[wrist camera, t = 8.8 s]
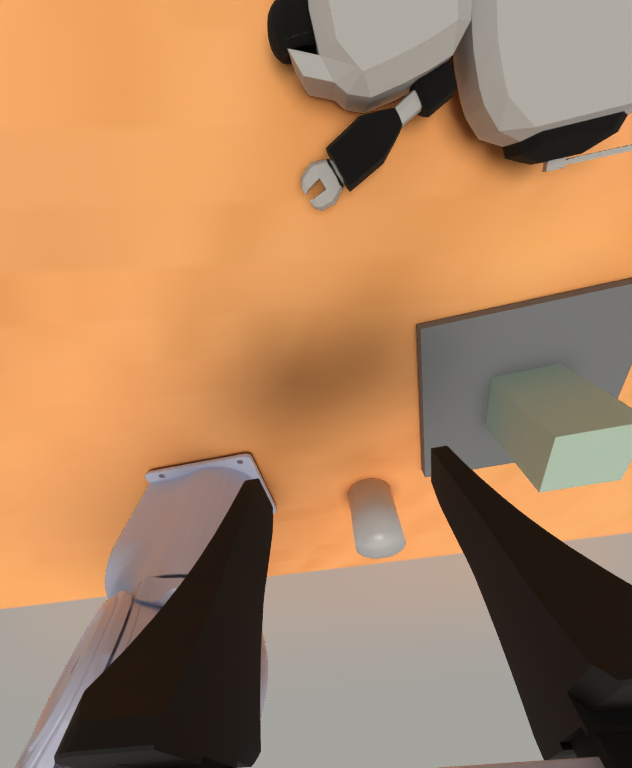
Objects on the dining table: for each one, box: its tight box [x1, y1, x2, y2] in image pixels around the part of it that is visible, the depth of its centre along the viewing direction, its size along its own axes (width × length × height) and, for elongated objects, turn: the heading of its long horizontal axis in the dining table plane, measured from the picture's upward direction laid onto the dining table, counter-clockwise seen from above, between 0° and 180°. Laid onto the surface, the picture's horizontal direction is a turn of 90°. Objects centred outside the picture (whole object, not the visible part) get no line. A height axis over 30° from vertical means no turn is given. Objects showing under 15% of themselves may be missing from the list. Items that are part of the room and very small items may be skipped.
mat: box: [417, 278, 632, 477], centre depth 21 cm, size 14×14×1 cm
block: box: [486, 364, 632, 492], centre depth 18 cm, size 4×4×6 cm
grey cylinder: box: [348, 478, 406, 559], centre depth 25 cm, size 4×4×5 cm
